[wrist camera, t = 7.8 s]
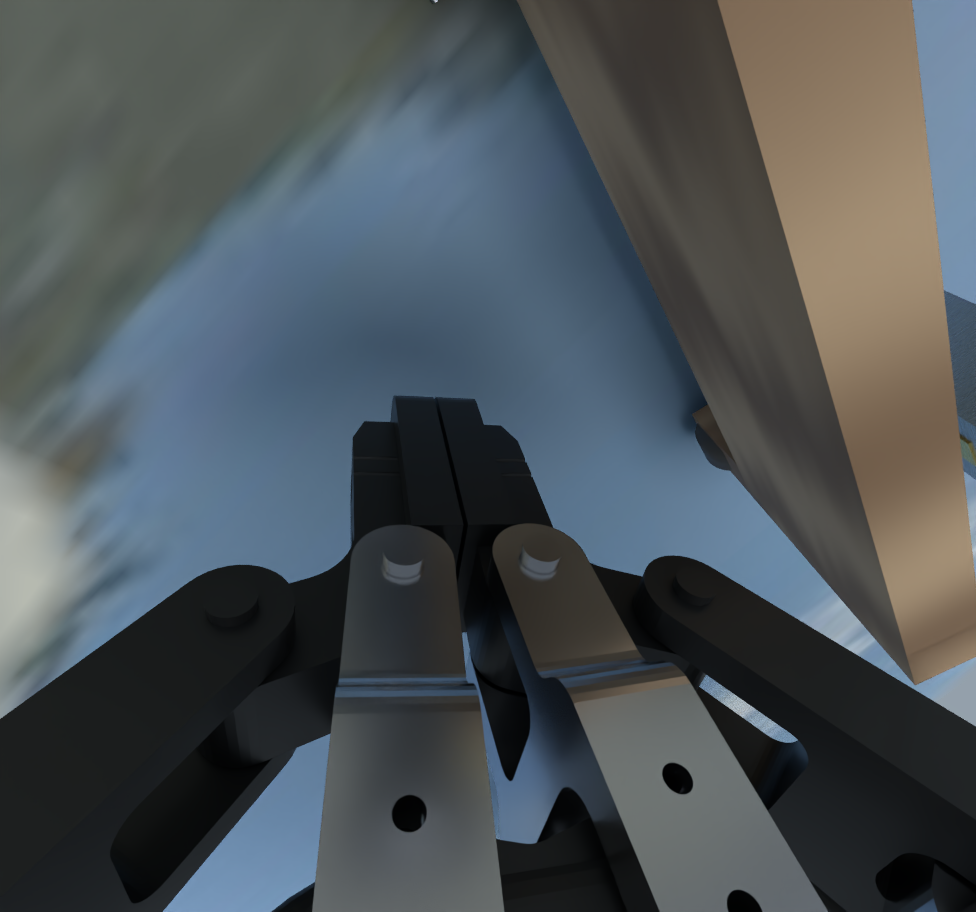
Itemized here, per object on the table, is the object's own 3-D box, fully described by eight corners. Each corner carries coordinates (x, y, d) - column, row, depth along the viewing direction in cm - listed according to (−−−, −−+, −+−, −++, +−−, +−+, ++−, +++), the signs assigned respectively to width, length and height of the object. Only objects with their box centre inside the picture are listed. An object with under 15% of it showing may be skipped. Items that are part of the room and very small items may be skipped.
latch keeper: (886, 309, 20) (1133, 439, 14) (794, 377, 21) (985, 527, 15) (847, 211, 18) (1123, 313, 11) (744, 293, 19) (947, 429, 12)
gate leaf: (446, -27, 12) (624, -122, 4) (541, -108, 12) (931, -379, 4) (695, 447, 22) (898, 693, 14) (754, 411, 21) (1001, 644, 13)
